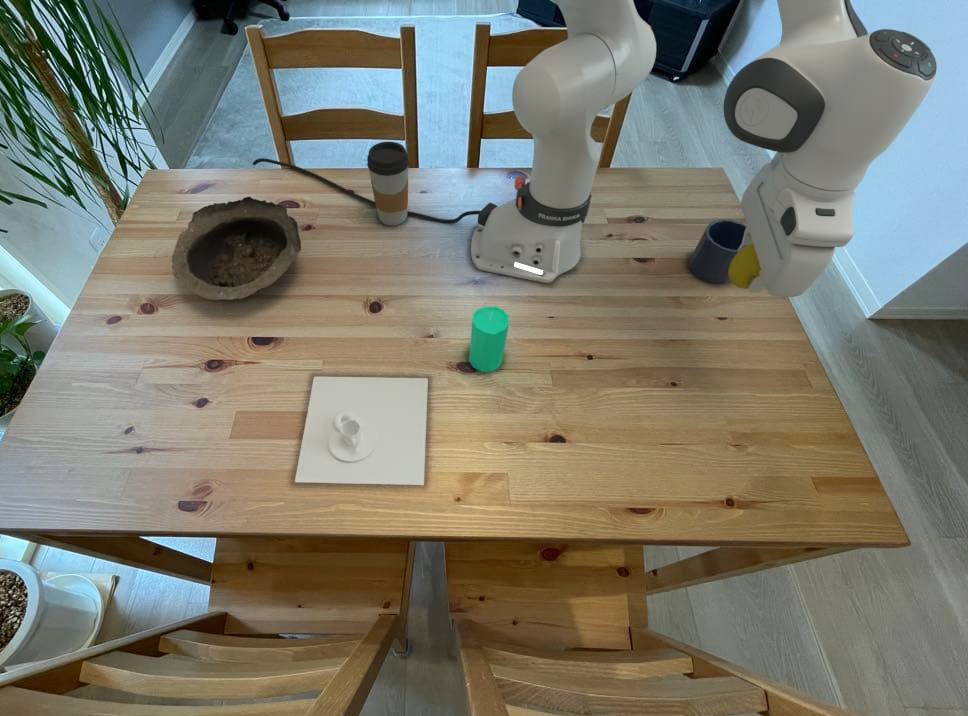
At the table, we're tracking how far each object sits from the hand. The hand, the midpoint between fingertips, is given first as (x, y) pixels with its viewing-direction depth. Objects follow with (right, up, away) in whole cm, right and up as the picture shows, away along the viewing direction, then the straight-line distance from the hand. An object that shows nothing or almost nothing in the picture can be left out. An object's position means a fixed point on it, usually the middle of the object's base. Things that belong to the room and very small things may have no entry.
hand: (747, 272), depth 75 cm
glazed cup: (+10, +8, +27) cm, 29 cm away
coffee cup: (-55, +21, +37) cm, 70 cm away
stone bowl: (-84, +7, +28) cm, 89 cm away
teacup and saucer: (-58, -23, +9) cm, 63 cm away
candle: (-37, -11, +16) cm, 42 cm away
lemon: (0, -2, +3) cm, 3 cm away
